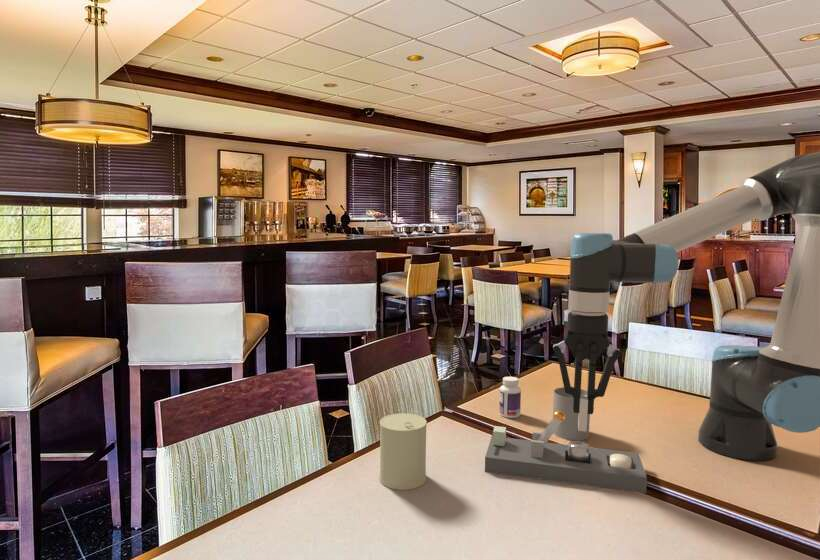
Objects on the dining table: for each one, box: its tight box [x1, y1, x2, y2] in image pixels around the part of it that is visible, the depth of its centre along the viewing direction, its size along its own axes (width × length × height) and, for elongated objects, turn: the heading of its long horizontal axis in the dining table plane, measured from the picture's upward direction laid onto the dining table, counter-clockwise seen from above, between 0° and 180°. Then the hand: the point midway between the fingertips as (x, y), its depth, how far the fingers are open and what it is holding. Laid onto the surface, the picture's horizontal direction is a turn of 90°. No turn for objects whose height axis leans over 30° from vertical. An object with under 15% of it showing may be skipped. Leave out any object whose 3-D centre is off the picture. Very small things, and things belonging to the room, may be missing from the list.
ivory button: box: [610, 454, 632, 469], centre depth 104 cm, size 4×4×4 cm
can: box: [378, 412, 428, 491], centre depth 103 cm, size 9×9×12 cm
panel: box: [484, 431, 648, 494], centre depth 107 cm, size 30×11×6 cm, turn 74°
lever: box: [537, 411, 565, 446], centre depth 108 cm, size 2×3×9 cm
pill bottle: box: [498, 376, 522, 419], centre depth 137 cm, size 5×5×10 cm
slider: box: [492, 425, 507, 446], centre depth 113 cm, size 2×3×3 cm
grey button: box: [567, 440, 590, 463], centre depth 106 cm, size 4×4×4 cm
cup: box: [552, 386, 591, 441], centre depth 126 cm, size 8×8×10 cm
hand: (582, 428), depth 106 cm, fingers closed
